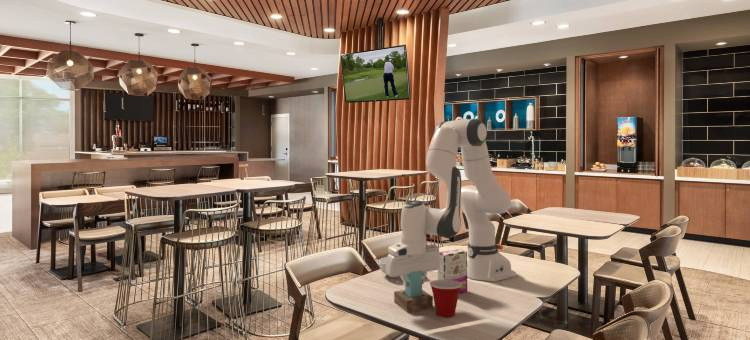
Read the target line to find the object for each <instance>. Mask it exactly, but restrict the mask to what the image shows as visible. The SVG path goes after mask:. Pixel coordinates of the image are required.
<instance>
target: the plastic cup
mask: <svg viewBox="0 0 750 340" xmlns="http://www.w3.org/2000/svg"><path fill="white" fill-rule="evenodd" d="M429 285H430V288H431V290H432V291H431V292H432V296H433V304H434V308H435V313H436V316H437V317H439V318H443V319H446V318H447V319H449V318H453V317H455V315H456V311H457V310H456V309H457V305H458V298H459V290H460V287H461V286H462V284H461V283H460V282H457V281H453V280H438V279H436V280H432V281H430V282H429Z"/></svg>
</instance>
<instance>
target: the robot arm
mask: <svg viewBox="0 0 750 340" xmlns="http://www.w3.org/2000/svg"><path fill="white" fill-rule="evenodd" d="M487 136H488V129H487V126H486V124H485V123H484V122H483V121H482V120H481V119H478V118H472V119H468V118H467V119H466V118H465V119H464V118H461V119H455V120H454V119H453V120H450V121H446V120H444V121H441V122H440V123H437V124H436V125H435V128H434V131H433V135H432V137H431V141H430V143H429V146H428V150H427V154H426V158H425V166H426V169H427V171H428V172H429V173H430V174H431V175H432V176H434V177H436V178H437V179H438V180H441V181H442V182H444V183H445V185H446V199H445V200H446V201H445V207H444V208H436V207H435V208H433V207H428V206H427V205H425V203H424V202H423V201H422V200H416V199H415V200H409V201H406V202H404V203H403V205H402V207H401V213H400V214H401V215H400V230H401V236H400V240H399V241H398V242H395V243H394V244H391V245H389V246H388V248H387V252H388V254H387V256H386V257H387V260H386V273H387V274H388V275H387V276H389V277H390V276H391V277H390V278H392V277H394V276H400V277H401V278H400V279H401V280H402V283H403V285H402V286H403V287H404V288H405V287H407V286H409V281H407V280H406V279H405V278H406V275H408V274H410V272H417V271H422V285H424V284H425V282H424V281H425V279H426V277H427V274H428V272H432V271H433V272H434V271H438V270H439V268H440V259H439V252H440V248H439V246H438V245H436V244H427V236H426V234H427V235H431V236H438V237H441V238H445V239H452V238H453V237H455V236H456V235H457V234H458V233H459V232H460V231H461V226H462V221H461V219H462V218H461V210H462V212H463V214H464V216H465V218H466V221H467V225H468V242H467V278H469V279H472V280H477V281H485V282H487V281H488V282H493V283H495V282H500V281H503V280H506V279H511V278H514V277H517V272H516V271H515V270H513V269H512V264H511V261H510V260H509V258H507V257H505V256H504V255H503V254H501V253H500V252H499V250H500V251H502V250H503V249H504V246H503V245H502V244H497V243H496V226H495V224H494V223H493V222H492V221H491V220H490V219H489V217H488V216H487V214H492V215H499V214H505V213H506V212H508V211H509V209H510V207H511V203H512V199H511V195H510V194H509V192H508V191H506V190H505V189H504V188H503V187H502V186H501V185H500V184H499V182H498V181H497V179H496V177H495V175H494V172H493V170H492V165H491V161H490V155H489V154H490V153H489V151H488V146H487V142H486V139H487ZM459 148H460V152H461V160H462V161H461V162H462V167H463V171H464V176H465V177H466V179H467V180H469V181H470V182H471V183H472V185H471V184H470V185H464V186H462V174H461V171H460V169H459V168H457V156H458V152H459V151H458V150H459Z"/></svg>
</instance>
